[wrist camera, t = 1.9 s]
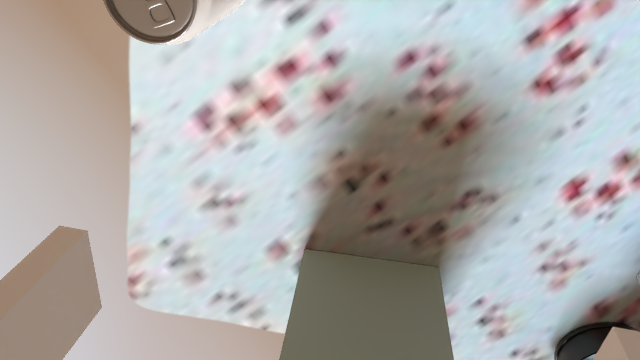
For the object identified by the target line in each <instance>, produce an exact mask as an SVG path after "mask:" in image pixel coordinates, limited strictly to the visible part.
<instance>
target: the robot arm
mask: <svg viewBox="0 0 640 360" xmlns="http://www.w3.org/2000/svg"><path fill="white" fill-rule="evenodd" d="M101 308H102V305H101V300H100V295H99V290H98V284H97V279H96V274H95V269H94V263H93V258H92V253H91V247H90V242H89V237H88V231H86V230H80V229H75V228H69V227H64V226H59V227H58V228H56V230H54V231H53V232H52V233H51V234H50V235H49V236H48V237H47V238H46V239H45V240H43V241H42V242H41V243H40V244H39V245H38V246H37V247H36V248H35V249H34V250H33V251H32V252H31V253H29V254H28V255H27V256H26V257H25V258H24V259H23V260H22V261H21V262H20V263H19V264H18V265H17V266H15V268H13V269H12V270H11V271H10V272H9V273H8V274H7V275H6V276H5V277H4V278H2V279H1V280H0V360H62V359H63V358H64V357H65V355H66V354H67V353H68V351H69V350H70V349H71V348H72V346H73V345H74V344H75V342H76V341H77V340H78V338H79V337H80V336H81V334H82V333H83V332H84V330H85V329H86V328H87V326H88V325H89V324H90V322H91V321H92V319H93V318H94V317H95V316H96V314H97V313H98V312H99V310H100V309H101ZM593 360H640V332H639V331H634V330H628V329H623V328H617V327H612V329H611V330H610V332H609V334H608V335H607V337H606V339H605V340H604V342H603V344H602V345H601V347H600V349H599V350H598V352H597V354H596V355H595V357H594V359H593Z"/></svg>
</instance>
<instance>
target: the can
mask: <svg viewBox="0 0 640 360" xmlns="http://www.w3.org/2000/svg"><path fill="white" fill-rule="evenodd" d="M103 1H104V3H105V6H106V8H107V10H108V12H109V14H110V15H111V17H112V18H113V20H114V21H115V22H116V23H117V24H118V25H119V26H120V28H122V29H123V30H124V31H125V32H126V33H127V34H129V35H130V36H132V37H134V38H135V39H137V40H140V41H142V42H146V43H150V44H165V45H173V44H179V43H183V42H186V41H188V40H190V39H192V38H194V37H196V36H197V35H199V34H200V33H202V32H203V31H205V30H206V29H208V28H210V27H211V26H213V25H214V24H216V23H217V22H219V21H220V20H222V19H223V18H225V17H226V16H228V15H229V14H231V13H232V12H233V11H235V10H236V9H237V8H239V7H240V6H241V5H242V3H243V2H244V1H245V0H103Z"/></svg>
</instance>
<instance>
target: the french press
mask: <svg viewBox="0 0 640 360" xmlns="http://www.w3.org/2000/svg"><path fill="white" fill-rule="evenodd" d="M612 327H617V328H623V329H628V330H634V331H637V330H635V329H633V328H632V327H629V326H626V325H623V324H619V323H609V322H605V323H595V324H590V325H586V326H583V327H580V328H578V329H576V330H574V331H572V332H570V333H569V334H568V335H566V336H565V337H564V338H563V339H562V340H561V341H560V342H559V344H558V345H557V347H556V350H555V357H554V360H583V359H585V358H587V357H589V356H591V355H593V354H596V353H597V352H598V350H599V349H600V347H601V345H602V344H603V342H604V340H605V339H606V337H607V335H608V334H609V332H610V330H611V329H612Z"/></svg>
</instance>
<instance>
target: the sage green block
mask: <svg viewBox="0 0 640 360" xmlns="http://www.w3.org/2000/svg"><path fill="white" fill-rule="evenodd" d="M279 360H454V358H453V352H452V346H451V340H450V333H449V327H448V321H447V315H446V309H445V303H444V297H443V290H442V284H441V278H440V272H439V267H433V266H426V265H419V264H412V263H404V262H397V261H390V260H382V259H375V258H368V257H360V256H353V255H346V254H339V253H331V252H324V251H317V250H309V249H305V250H304V254H303V259H302V263H301V267H300V272H299V276H298V281H297V285H296V289H295V294H294V298H293V302H292V307H291V311H290V316H289V320H288V324H287V329H286V333H285V338H284V342H283V346H282V351H281V355H280V359H279Z"/></svg>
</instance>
